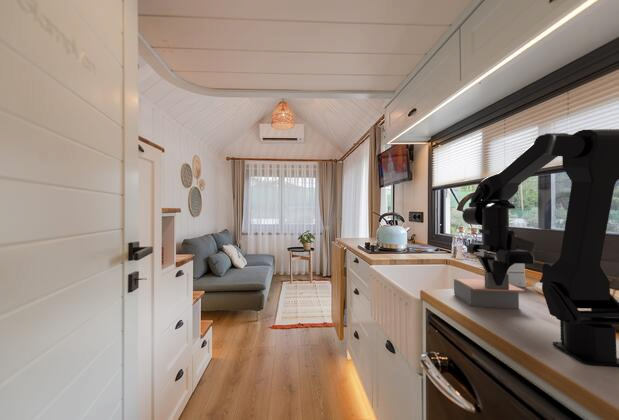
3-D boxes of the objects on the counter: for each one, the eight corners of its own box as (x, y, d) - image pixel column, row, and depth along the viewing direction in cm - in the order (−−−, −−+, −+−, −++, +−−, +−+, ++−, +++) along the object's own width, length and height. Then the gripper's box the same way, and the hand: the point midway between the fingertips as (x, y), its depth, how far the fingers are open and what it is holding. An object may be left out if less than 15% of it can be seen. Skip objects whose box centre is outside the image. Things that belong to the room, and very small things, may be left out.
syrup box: (526, 287, 85) (525, 245, 86) (507, 286, 86) (506, 245, 87) (516, 283, 91) (515, 243, 91) (498, 282, 92) (497, 243, 92)
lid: (525, 292, 63) (525, 275, 64) (474, 290, 65) (473, 273, 65) (499, 281, 74) (499, 266, 74) (455, 280, 75) (455, 265, 75)
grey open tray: (518, 308, 66) (518, 289, 66) (470, 306, 67) (470, 287, 67) (495, 296, 76) (495, 280, 76) (454, 294, 77) (453, 278, 77)
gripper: (559, 227, 56) (561, 297, 55) (505, 225, 74) (506, 276, 74) (506, 227, 57) (507, 295, 57) (465, 224, 76) (466, 275, 75)
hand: (496, 284), depth 65 cm, fingers closed on lid, 2 cm apart
